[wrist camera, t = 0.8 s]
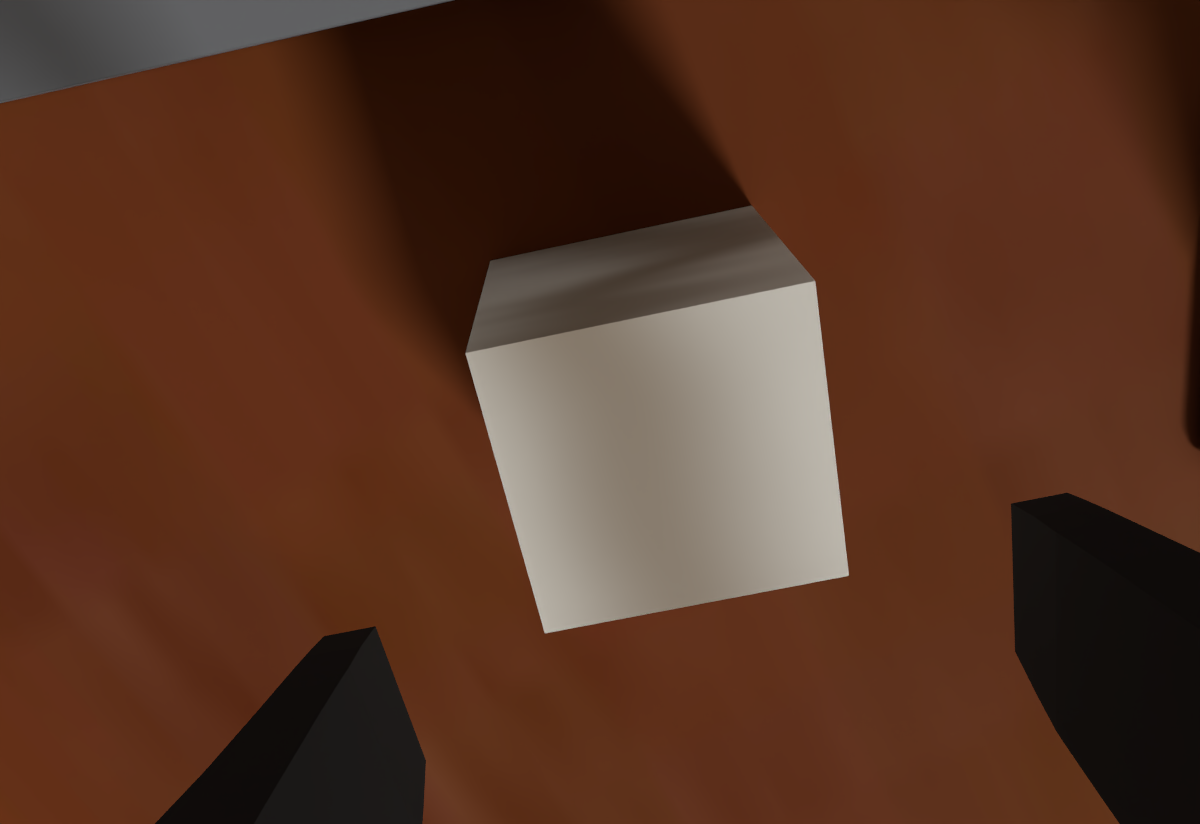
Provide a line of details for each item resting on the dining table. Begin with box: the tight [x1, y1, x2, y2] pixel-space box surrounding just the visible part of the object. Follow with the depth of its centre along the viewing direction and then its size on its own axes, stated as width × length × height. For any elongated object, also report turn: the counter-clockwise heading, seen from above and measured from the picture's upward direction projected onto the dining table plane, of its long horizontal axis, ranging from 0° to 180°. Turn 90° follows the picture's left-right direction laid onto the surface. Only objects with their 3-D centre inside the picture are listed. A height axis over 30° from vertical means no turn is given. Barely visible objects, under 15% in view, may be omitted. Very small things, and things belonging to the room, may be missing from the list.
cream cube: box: [466, 205, 849, 633], centre depth 17 cm, size 5×5×5 cm
